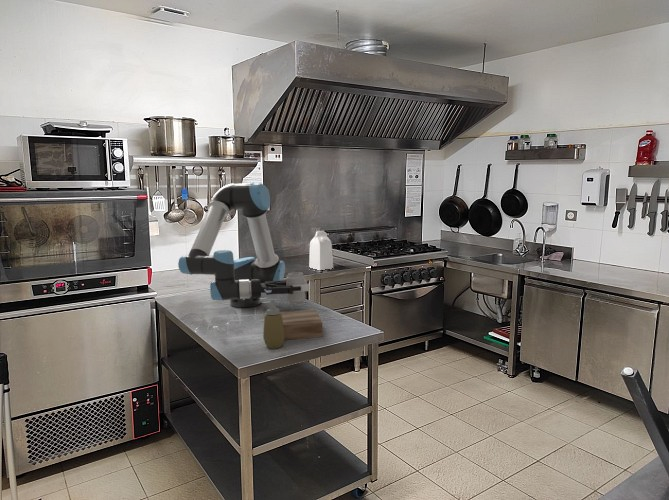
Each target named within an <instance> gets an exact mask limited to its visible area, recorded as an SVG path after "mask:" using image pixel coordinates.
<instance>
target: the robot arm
mask: <svg viewBox="0 0 669 500" xmlns="http://www.w3.org/2000/svg"><path fill="white" fill-rule="evenodd" d="M270 205H271V196H270V191H269V189H268V188H267V186H266V185H264V184H263V183H257V182H251V183H229V184H226V185H224V186H223V187H220V188H219V190H217V191H216V192H215V194H214V195H213V196H212V197H211V199H210V200H209V202H208V205H207V209H208V211H207V213H206V215H205V217H204V220H203V222H202V224H201V226H200V228H199V230H198V233H197V236H196V237H195V240H194V242H193V244H192V247H191V248H190V251H189V253H188V254H183V255H181V256H180V257H179V259H178V263H177V264H178V265H177V266H178V269H179V272H180V273H181V274H185V275H207V276H209V275H210V276H214V280H213V281H211V282H210V284H209V290H210V298H211V300H212V301H228V300H229V305H230V307H234V308H251V307H256V306H258V305H260V304H261V302H262V301H261V298H262V293H264V294H266V295H267V296H268V295H269V296H270V295H287V294H293V292H302V291H305V292H310V283H307V282H308V281H307V279H305V284H300V285H293V286H286V279H284V277H285V273H286V264H285V261H284V260H280V258H279V256H278V254H276V253H275V250H274V245H273V240H272V236H271V233H270V227H269V225H268V220H267V216H266V214H267V213H268V210H269V208H270ZM231 211H241V214H242V216H243V217H244V218H246V221H247V224H248V227H249V232H250V235H251V239H252V243H253V247H254V250H255V255H256V257H253V256H248V257H246V256H245V257H242V258H237V259H234V258H235V257H234V253H233V251H232V250H225V249H224V250H216V251H214V252H213V255H211V252H212V249H213V247H214V245H215V242H216V239H217V238H218V235H219V232H220V230H221V227H222V225H223V224H224V222H225V218H226V217H228V216H229V214H230V213H231Z"/></svg>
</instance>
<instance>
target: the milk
mask: <svg viewBox="0 0 669 500" xmlns="http://www.w3.org/2000/svg"><path fill="white" fill-rule="evenodd" d="M333 259H334V258H333V245H332V240H331V239H330V238H329V237H328V236H327V234H326V232H325V230H318V231H315V234H314V236H313V238H312V239H311V240H310V242H309V259H308V261H309V263H308V264H309V265H308V268H309V267H310V268H313V269H317V270H325V269H330V270H333V269H334V260H333ZM332 268H333V269H332ZM325 271H326V270H325Z"/></svg>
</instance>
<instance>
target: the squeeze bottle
mask: <svg viewBox="0 0 669 500" xmlns="http://www.w3.org/2000/svg"><path fill="white" fill-rule="evenodd" d="M279 312H280V308H278V307H277V306H276V302H275V298H274V299H271V300H270V303H269V307H268V308H267V309H266V314H265V315H264V319H263V335H262V336H263V337H262V338H263V340H264V342H265V345H266V348H267V349H279V348H281V347H282V346H283V344H284V341H285V340H284V338H285V334H284V327H283V320H282V315H281V314H279Z"/></svg>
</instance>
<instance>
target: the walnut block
mask: <svg viewBox="0 0 669 500" xmlns="http://www.w3.org/2000/svg"><path fill="white" fill-rule="evenodd" d="M279 314H281V315H282V320H283V327H284V334H285V338H284V341H288V340H297V339H298V340H299V339H310V338H311V339H312V338H323V336H324V335H323V321H322V319H321V317H320V315H319V313H318V311H317V310H316V309H308V310H297V311H295V310H294V311H293V310H292V311H279Z"/></svg>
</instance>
